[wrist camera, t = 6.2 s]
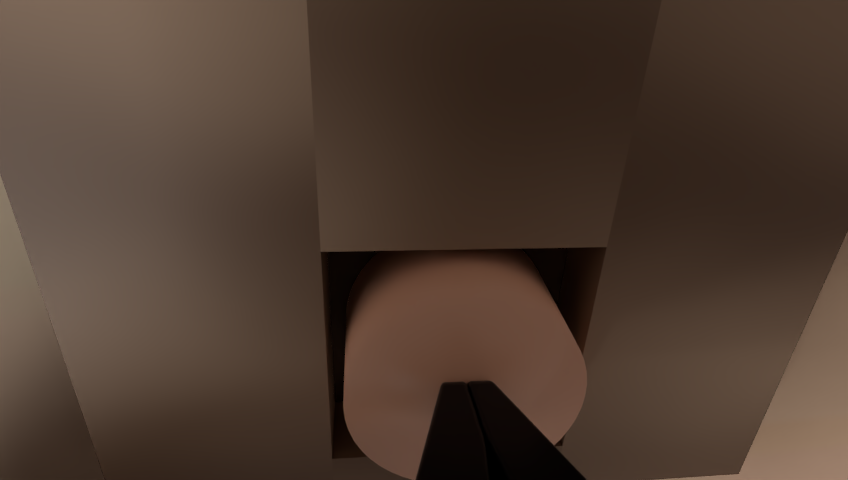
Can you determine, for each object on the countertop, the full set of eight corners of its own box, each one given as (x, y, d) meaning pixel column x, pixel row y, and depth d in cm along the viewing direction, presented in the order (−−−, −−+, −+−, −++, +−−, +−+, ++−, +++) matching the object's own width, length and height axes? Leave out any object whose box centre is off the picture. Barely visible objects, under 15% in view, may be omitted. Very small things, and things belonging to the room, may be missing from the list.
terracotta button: (530, 385, 12) (566, 477, 10) (348, 393, 12) (346, 490, 10) (558, 223, 10) (608, 296, 8) (343, 226, 10) (338, 303, 8)
